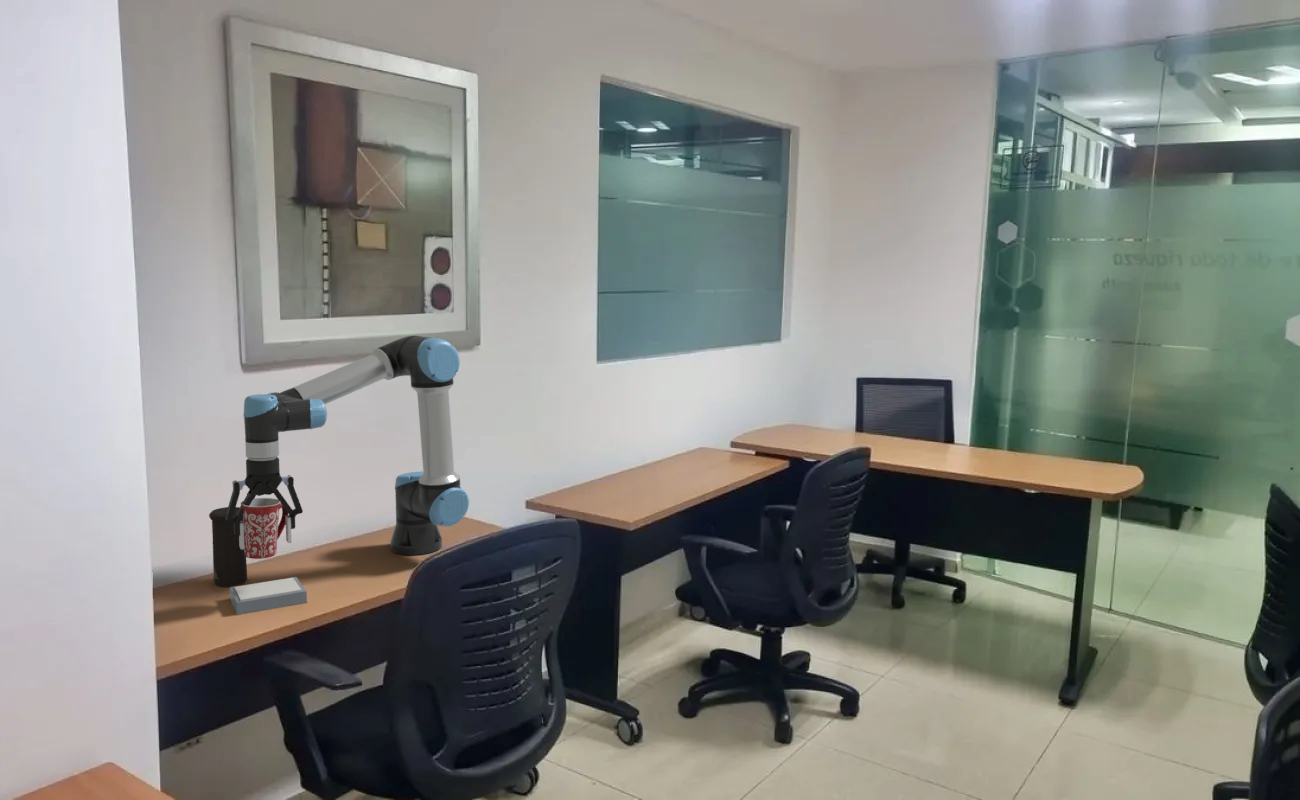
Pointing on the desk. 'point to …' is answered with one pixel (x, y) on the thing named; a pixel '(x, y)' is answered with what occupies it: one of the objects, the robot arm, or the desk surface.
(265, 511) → the mug
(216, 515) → the container
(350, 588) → the desk surface
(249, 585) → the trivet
